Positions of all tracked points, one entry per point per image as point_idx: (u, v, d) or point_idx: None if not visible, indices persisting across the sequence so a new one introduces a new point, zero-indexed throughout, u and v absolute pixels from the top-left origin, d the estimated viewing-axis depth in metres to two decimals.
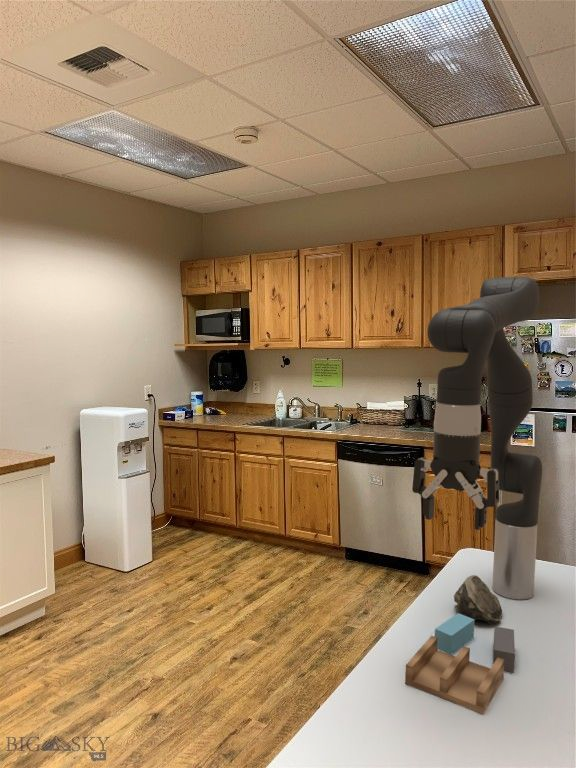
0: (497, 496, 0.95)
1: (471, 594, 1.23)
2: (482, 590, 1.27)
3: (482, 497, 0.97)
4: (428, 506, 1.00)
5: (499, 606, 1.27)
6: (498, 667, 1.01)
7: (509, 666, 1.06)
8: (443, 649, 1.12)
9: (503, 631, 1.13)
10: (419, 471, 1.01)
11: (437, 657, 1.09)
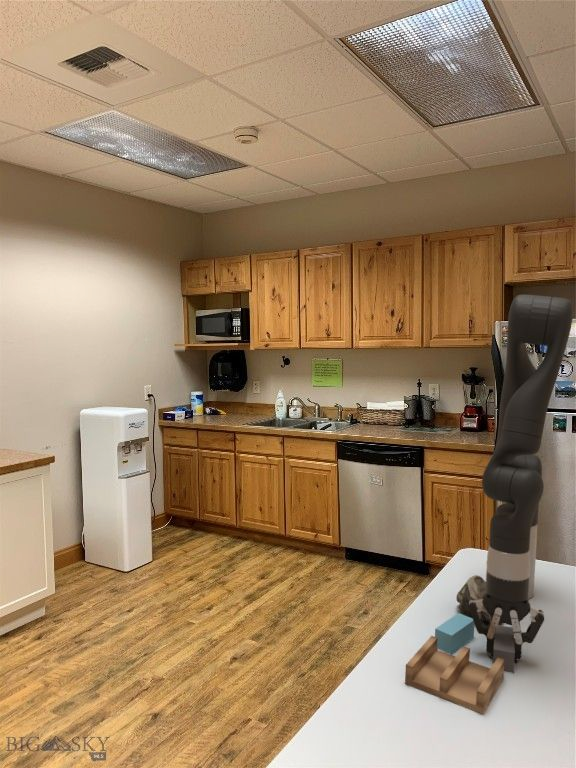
0: None
1: (474, 594, 1.23)
2: (485, 590, 1.27)
3: None
4: None
5: None
6: (498, 667, 1.01)
7: (509, 665, 1.06)
8: (443, 648, 1.13)
9: (503, 629, 1.13)
10: None
11: (437, 657, 1.09)
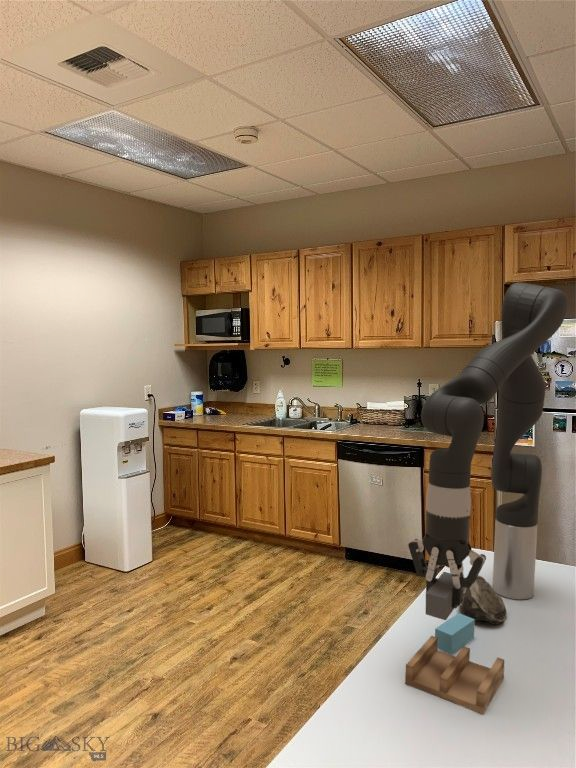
0: None
1: (475, 594, 1.23)
2: (486, 591, 1.27)
3: None
4: None
5: (503, 607, 1.27)
6: (498, 667, 1.01)
7: (441, 611, 1.00)
8: (444, 648, 1.13)
9: (450, 577, 1.06)
10: None
11: (437, 657, 1.09)
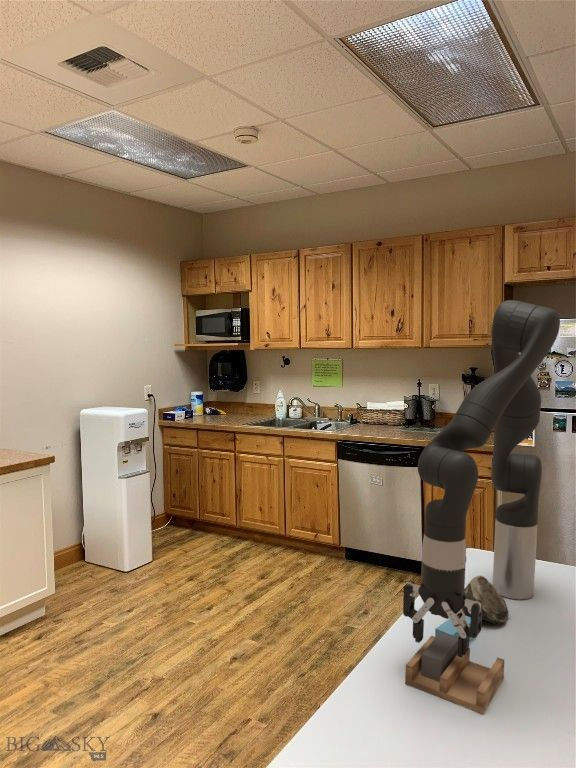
0: None
1: (476, 594, 1.23)
2: (488, 591, 1.27)
3: None
4: None
5: (505, 607, 1.27)
6: (498, 667, 1.01)
7: (436, 673, 1.01)
8: None
9: (446, 638, 1.08)
10: None
11: None
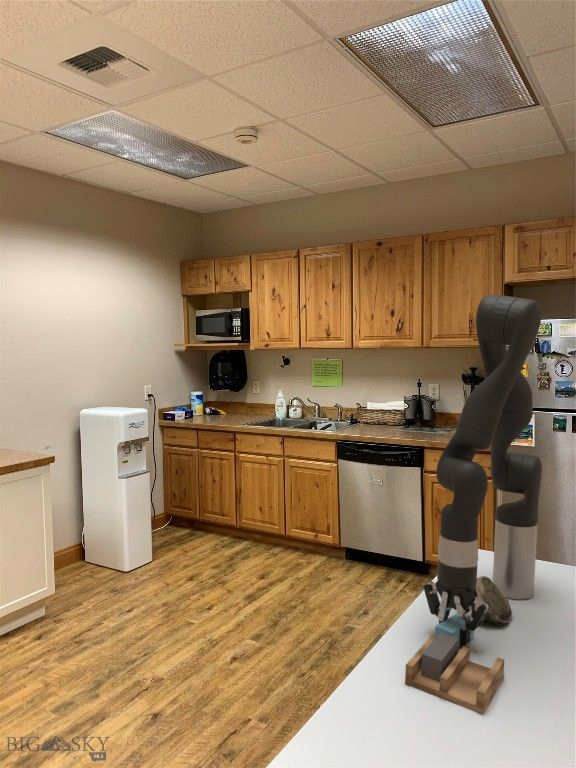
0: None
1: (479, 594, 1.23)
2: (492, 591, 1.27)
3: None
4: None
5: (509, 608, 1.26)
6: (498, 667, 1.01)
7: (436, 673, 1.01)
8: None
9: (446, 638, 1.08)
10: None
11: None
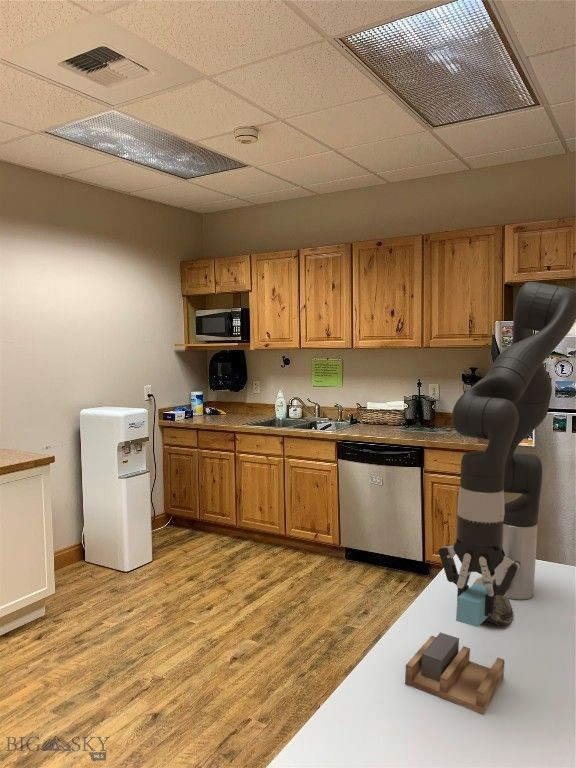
0: None
1: None
2: None
3: None
4: None
5: (510, 608, 1.26)
6: (498, 667, 1.01)
7: (436, 673, 1.01)
8: (468, 620, 0.96)
9: (446, 638, 1.08)
10: None
11: None
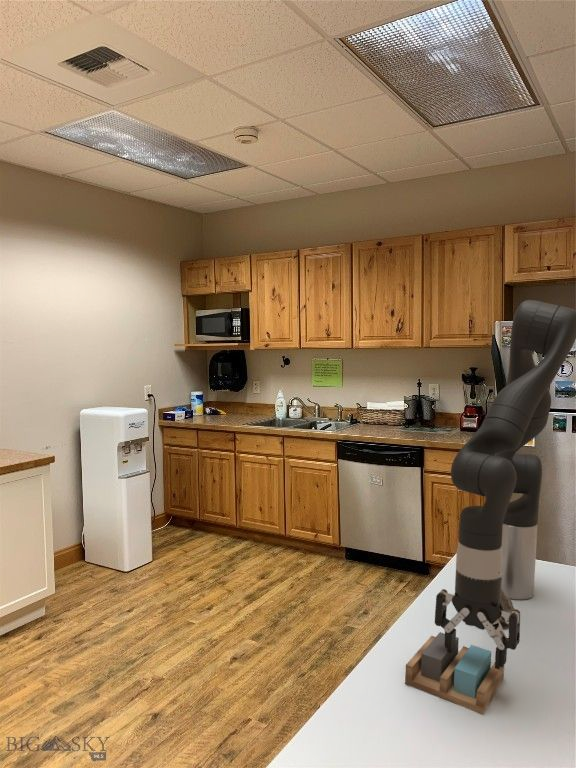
0: None
1: None
2: None
3: None
4: None
5: (512, 609, 1.26)
6: None
7: (436, 673, 1.01)
8: (465, 690, 0.98)
9: None
10: None
11: None
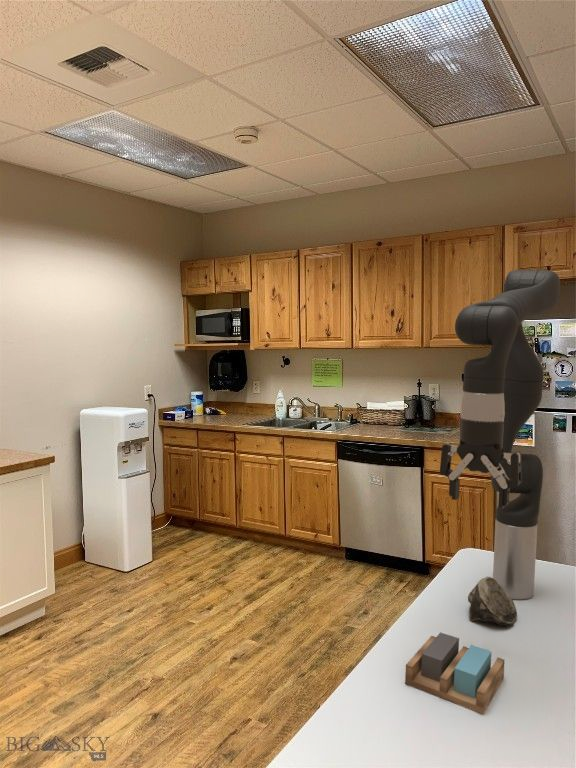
0: None
1: (483, 595, 1.23)
2: (496, 592, 1.26)
3: None
4: None
5: (514, 609, 1.26)
6: (498, 667, 1.01)
7: (436, 673, 1.01)
8: (465, 690, 0.98)
9: (446, 638, 1.08)
10: None
11: None
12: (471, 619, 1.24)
